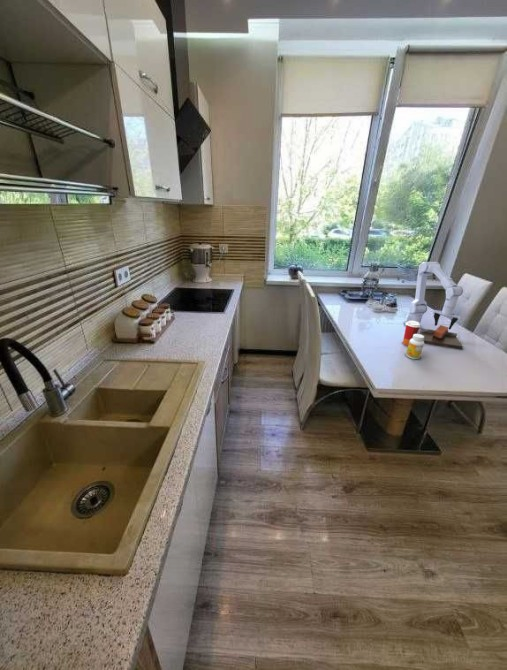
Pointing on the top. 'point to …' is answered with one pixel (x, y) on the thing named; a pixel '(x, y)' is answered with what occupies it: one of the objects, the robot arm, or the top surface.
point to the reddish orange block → (440, 332)
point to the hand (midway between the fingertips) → (442, 327)
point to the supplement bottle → (415, 346)
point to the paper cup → (410, 331)
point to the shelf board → (446, 341)
